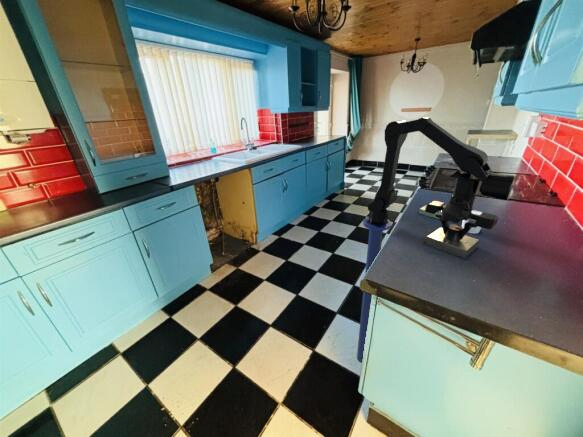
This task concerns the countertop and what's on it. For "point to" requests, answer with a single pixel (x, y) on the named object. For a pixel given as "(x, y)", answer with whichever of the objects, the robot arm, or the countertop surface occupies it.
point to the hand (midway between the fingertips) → (452, 236)
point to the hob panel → (452, 244)
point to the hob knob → (453, 232)
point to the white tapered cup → (472, 230)
